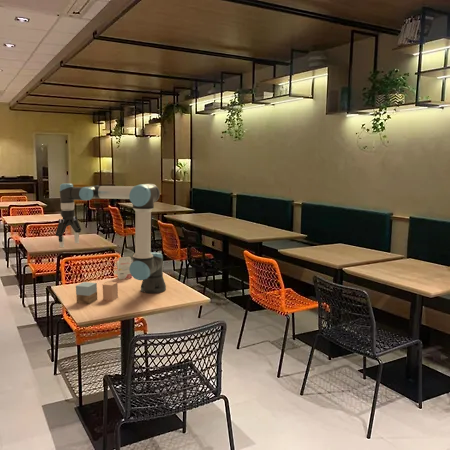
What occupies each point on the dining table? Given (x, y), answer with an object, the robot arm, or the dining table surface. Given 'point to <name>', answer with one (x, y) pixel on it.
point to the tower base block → (86, 298)
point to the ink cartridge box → (124, 268)
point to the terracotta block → (110, 291)
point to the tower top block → (86, 288)
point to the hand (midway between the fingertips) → (69, 245)
